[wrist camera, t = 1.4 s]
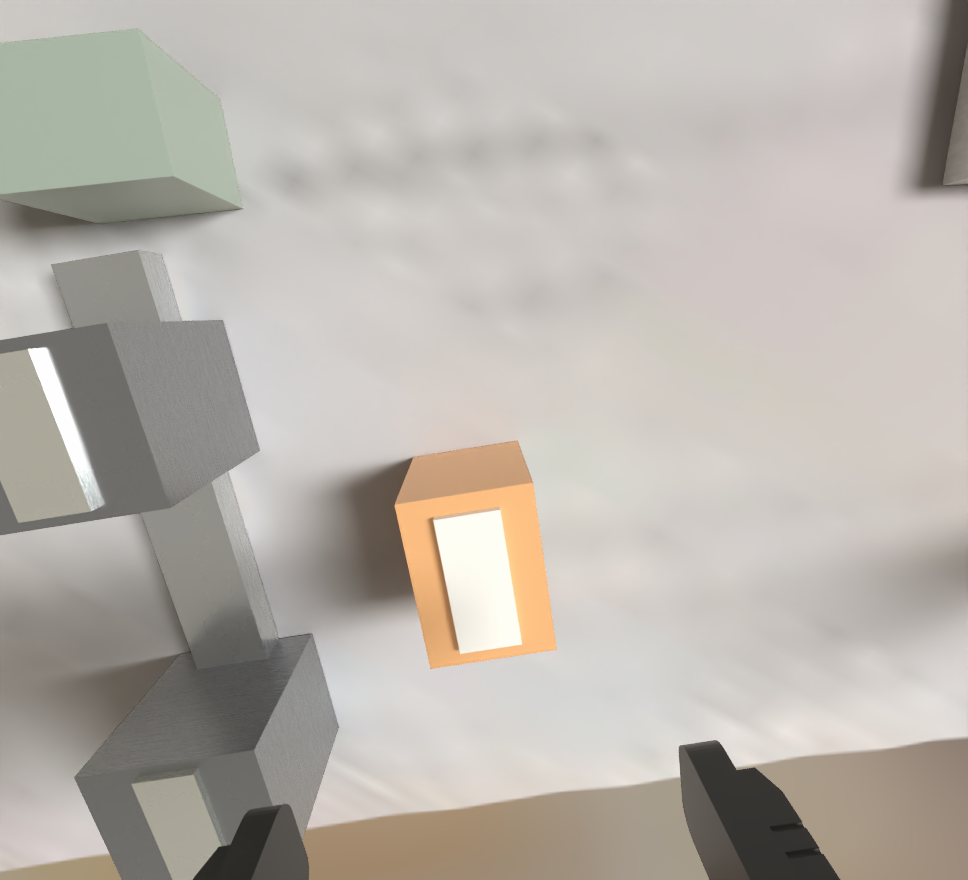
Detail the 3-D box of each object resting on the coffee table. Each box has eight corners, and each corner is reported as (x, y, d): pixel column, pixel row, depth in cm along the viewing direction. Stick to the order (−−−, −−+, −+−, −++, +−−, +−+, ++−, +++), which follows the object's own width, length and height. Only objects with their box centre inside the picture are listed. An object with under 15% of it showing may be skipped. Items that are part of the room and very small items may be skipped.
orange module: (413, 456, 23) (393, 508, 17) (517, 440, 23) (534, 485, 17) (440, 586, 25) (429, 674, 19) (536, 571, 25) (557, 654, 19)
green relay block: (71, 116, 19) (-62, 49, 15) (221, 100, 19) (138, 28, 15) (101, 224, 20) (-14, 195, 16) (243, 209, 20) (173, 175, 16)
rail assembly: (40, 274, 21) (-184, 254, 14) (202, 247, 21) (60, 212, 14) (219, 760, 27) (130, 917, 20) (342, 741, 27) (297, 892, 20)
